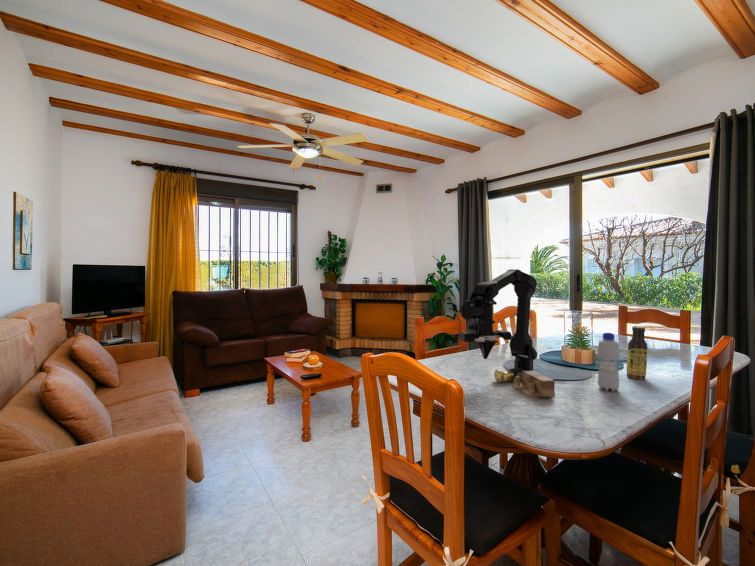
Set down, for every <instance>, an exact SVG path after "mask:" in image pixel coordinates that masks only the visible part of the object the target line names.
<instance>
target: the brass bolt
mask: <svg viewBox="0 0 755 566" xmlns="http://www.w3.org/2000/svg"><path fill="white" fill-rule="evenodd" d="M493 374H494V376H493V377H494V379H495V380H494V381H496V382H497V383H506V382H509V383H510V382H515V379H514V378H515V377H514V373H513V372H512V371H511V372H508V371H502V370H501V369H495V370H494V373H493Z"/></svg>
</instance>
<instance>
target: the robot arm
mask: <svg viewBox="0 0 755 566" xmlns="http://www.w3.org/2000/svg"><path fill="white" fill-rule="evenodd" d="M509 285H511V286H513V291H514V293H515V295H516V297H517V304H516V321H515V322H516V324H515V332H514V333H513V335H512V333H511V332H510V331H508V330H505V329H500V330H499V329H497V330H495V331H494V324H496V321H495V320H494V306H495V305H497V304H498V303H497V302H496V300H494V299H495V298H496V297H497V296H498V295H499V293H500V290H502V289H504V288H505V287H507V286H509ZM537 285H538V282H537V279H536V278H535V277H534V276H533V275H531V274H529V273H526V272H523V271H522V270H520V269H517V268H513V269H511V268H509V269H507V270H506V271H505V272H503V273H502V274H500V275H498V276H496V277H495V278H493V279H491V280H489V281H482V282H478V283H476V284H475V286H474V288H473V291H472V293H471V295H470V297H469V299H467V300H464V303H463V305H461V308H460V316H461V317H462V318H463V319H464V320H475V322H474V323H473V322H472V321H467V322H466V324H465V328H466V331H460V332H459V334H458V340H460V341H461V342H464V343H472V342H473V343H474V342H475V343H477V345H478V347H479V349H480V352H481V355H482V357H483V359H484V360H487V359H488V357H489V355H490V354H491V351H492V349H493V347H494V346H495V344H496V343H498V340H496V338H497V339H498V338H502V340H504V341H507V340H508V341H509V348H510V349H509V350H510V354H511V357H514V362H513V363H514V365H513V366H514V367H513V368H520V369H522V370H525V371H534V360H536V359H538V352H537V350H536V349H535V348H534V346H533V339H532V337H531V335H530V316H531V301H532V297H533V296H534V294H535V293H536V290H537Z"/></svg>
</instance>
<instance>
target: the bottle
mask: <svg viewBox="0 0 755 566" xmlns="http://www.w3.org/2000/svg"><path fill="white" fill-rule="evenodd" d="M620 349H621V348H620V343H619V342H618V341H615V334H614V333H612V332H603V334H602V340H599V341H598V345H597V355H598V377H597V384H598V387H599V388H600V390H602V391H603V390H605V391H606V392H608V391H609V390H610V391H611V392H616V391H618V390H619V388H620V376H619V369H620V368H619V367H620V366H619V361H620V360H619V359H620V355H621V350H620Z"/></svg>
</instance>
